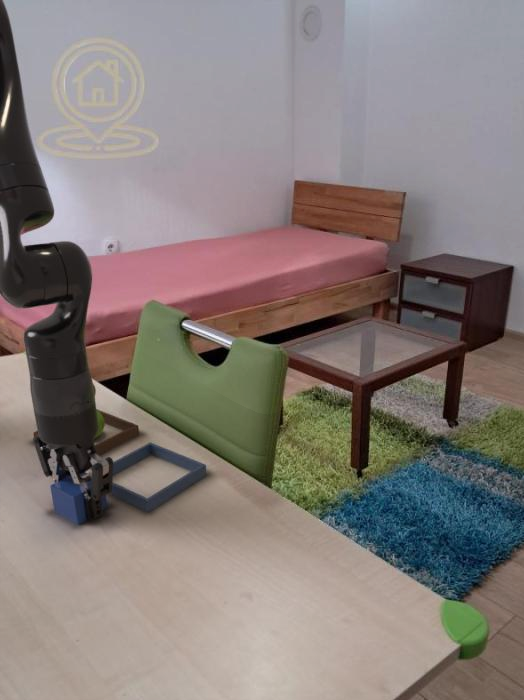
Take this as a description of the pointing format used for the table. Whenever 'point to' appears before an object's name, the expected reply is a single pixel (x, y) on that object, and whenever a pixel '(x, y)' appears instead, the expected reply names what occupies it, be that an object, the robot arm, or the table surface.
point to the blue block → (71, 499)
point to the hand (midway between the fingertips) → (81, 510)
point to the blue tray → (168, 492)
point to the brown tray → (127, 434)
